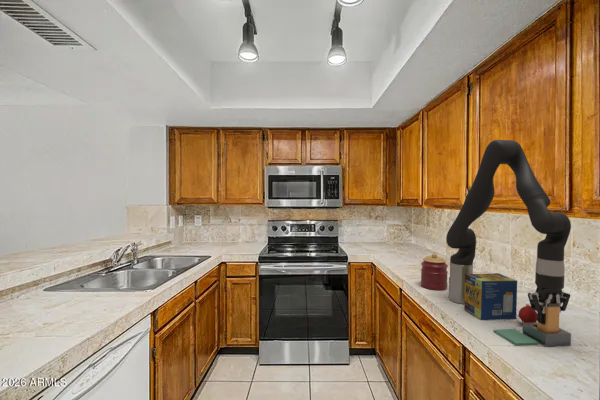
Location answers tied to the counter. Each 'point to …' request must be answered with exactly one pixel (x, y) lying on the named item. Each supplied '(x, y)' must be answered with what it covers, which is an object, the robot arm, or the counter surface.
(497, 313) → the protein box
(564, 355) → the counter surface
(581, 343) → the counter surface
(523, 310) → the red onion
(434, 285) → the canister
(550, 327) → the plug
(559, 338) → the gray square frame
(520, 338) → the mat
